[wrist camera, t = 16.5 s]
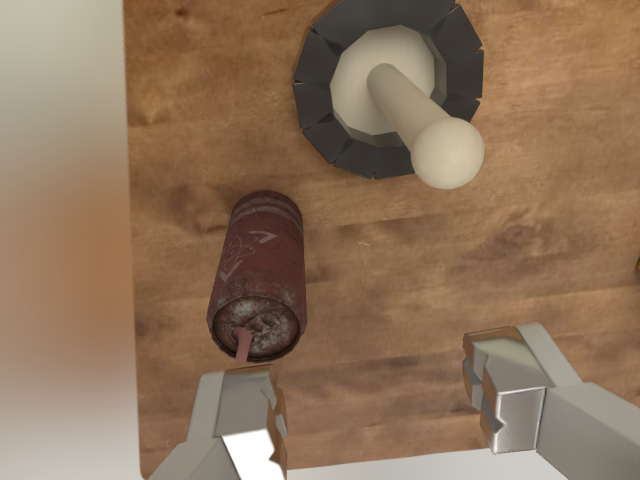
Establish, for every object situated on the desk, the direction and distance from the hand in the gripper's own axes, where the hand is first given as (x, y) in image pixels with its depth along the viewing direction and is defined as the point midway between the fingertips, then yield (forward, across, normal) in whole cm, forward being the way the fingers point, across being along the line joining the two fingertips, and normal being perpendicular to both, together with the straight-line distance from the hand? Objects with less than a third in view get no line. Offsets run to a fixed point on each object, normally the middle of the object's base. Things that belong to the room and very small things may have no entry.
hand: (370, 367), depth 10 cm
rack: (+27, -5, 0) cm, 28 cm away
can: (+27, +6, +10) cm, 30 cm away
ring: (+26, -5, 0) cm, 26 cm away
